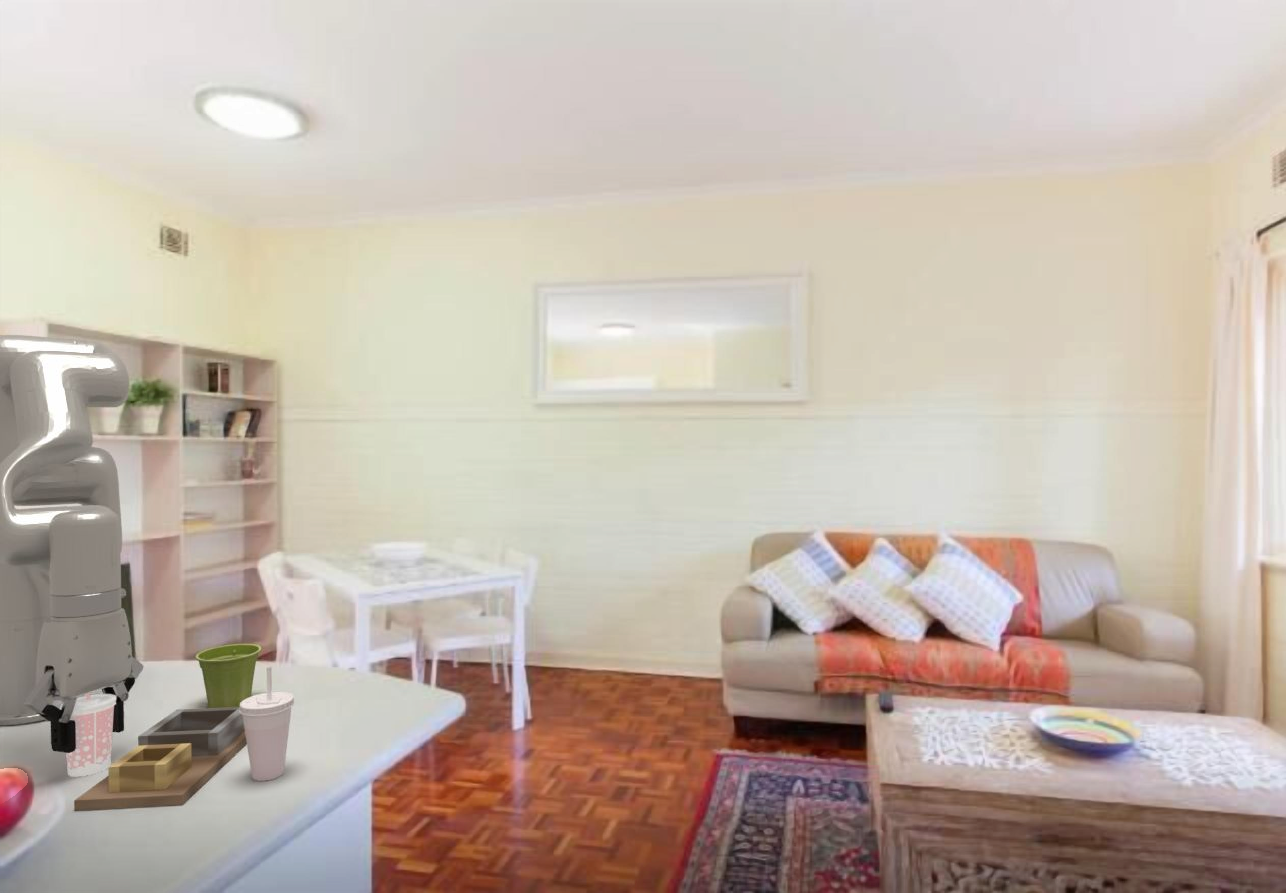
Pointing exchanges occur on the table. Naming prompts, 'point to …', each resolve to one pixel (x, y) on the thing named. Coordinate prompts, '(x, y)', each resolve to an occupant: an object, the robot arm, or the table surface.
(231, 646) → the plant pot
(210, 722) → the fitting board
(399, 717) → the table surface
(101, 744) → the beverage cup
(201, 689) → the table surface
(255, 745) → the smoothie
